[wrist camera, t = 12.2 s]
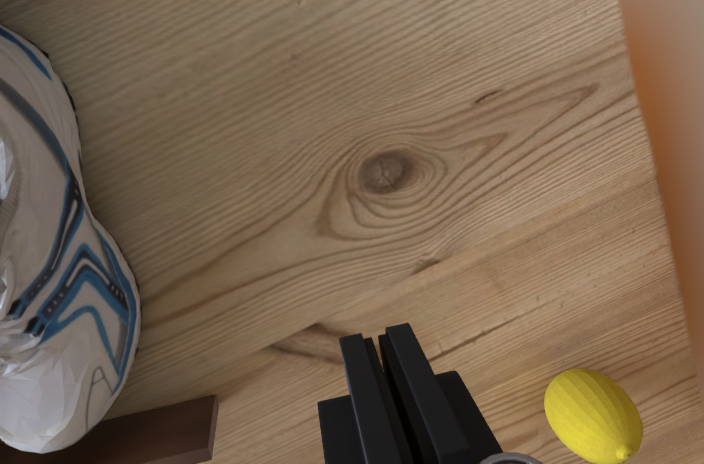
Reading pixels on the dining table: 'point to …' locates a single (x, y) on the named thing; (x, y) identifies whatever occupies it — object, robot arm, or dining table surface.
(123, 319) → the athletic shoe
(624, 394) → the lemon
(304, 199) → the dining table surface
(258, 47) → the dining table surface
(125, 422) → the shoe rack
